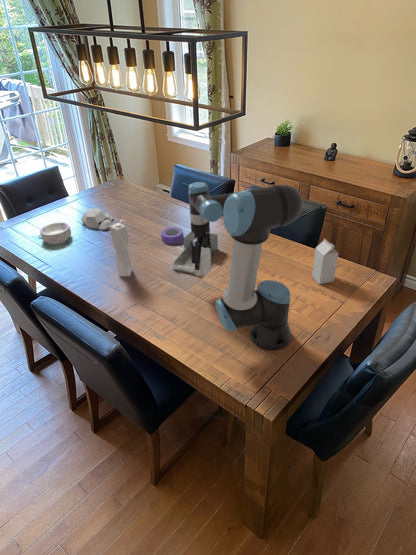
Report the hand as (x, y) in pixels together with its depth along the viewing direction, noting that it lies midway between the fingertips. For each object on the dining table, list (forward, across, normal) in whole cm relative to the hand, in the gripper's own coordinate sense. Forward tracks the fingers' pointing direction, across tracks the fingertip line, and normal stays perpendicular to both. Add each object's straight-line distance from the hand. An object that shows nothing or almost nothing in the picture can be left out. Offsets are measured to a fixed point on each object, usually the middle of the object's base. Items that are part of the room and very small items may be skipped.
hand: (202, 270), depth 178 cm
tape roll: (+10, +38, +34) cm, 52 cm away
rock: (+9, +38, +82) cm, 91 cm away
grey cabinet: (+10, +18, +14) cm, 25 cm away
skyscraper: (+11, 0, +40) cm, 41 cm away
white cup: (+1, 0, 0) cm, 1 cm away
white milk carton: (+11, +28, -47) cm, 56 cm away
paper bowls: (+9, +14, +92) cm, 94 cm away
